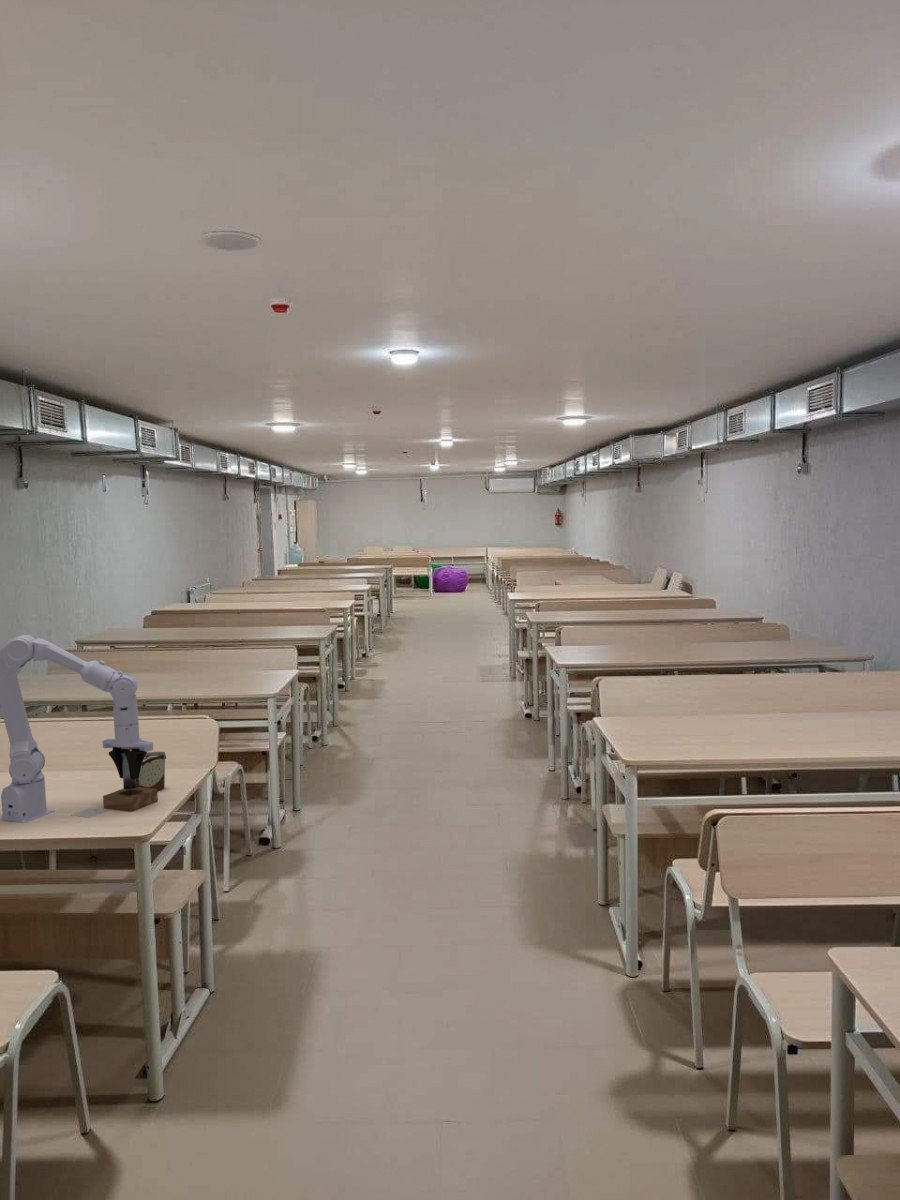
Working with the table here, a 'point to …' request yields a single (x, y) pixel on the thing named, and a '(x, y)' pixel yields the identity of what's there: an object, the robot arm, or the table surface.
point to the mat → (89, 813)
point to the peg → (127, 774)
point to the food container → (152, 771)
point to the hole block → (130, 799)
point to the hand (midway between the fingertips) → (129, 777)
